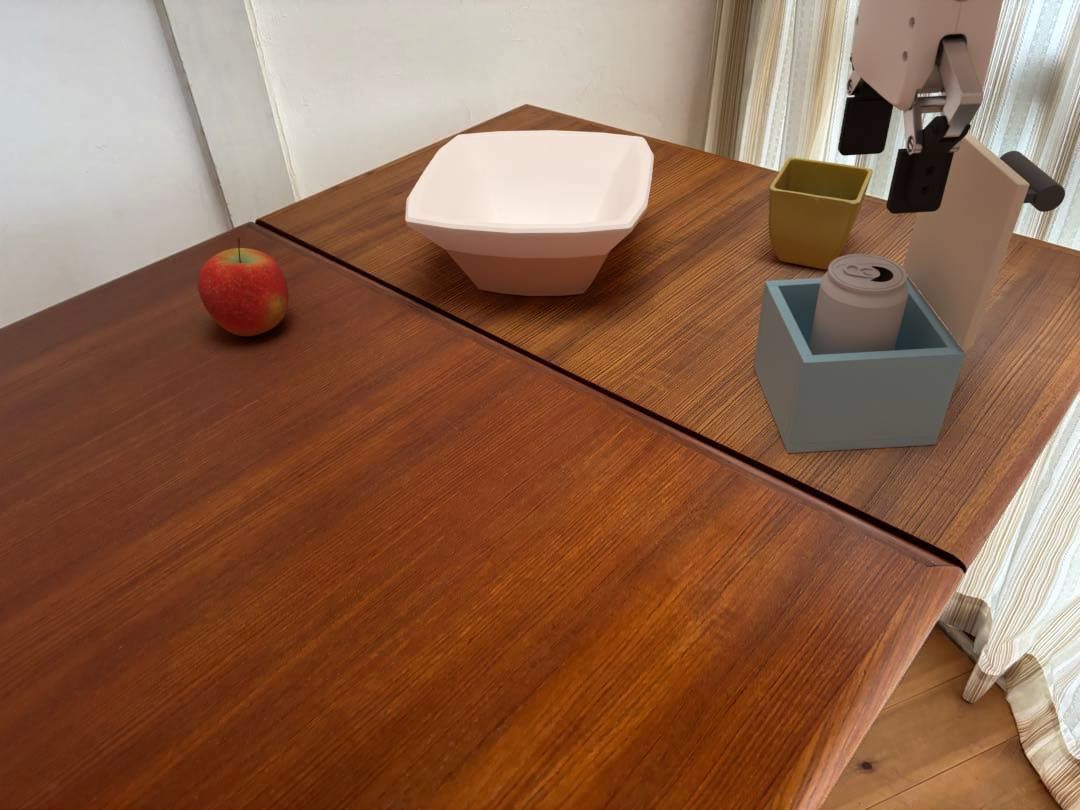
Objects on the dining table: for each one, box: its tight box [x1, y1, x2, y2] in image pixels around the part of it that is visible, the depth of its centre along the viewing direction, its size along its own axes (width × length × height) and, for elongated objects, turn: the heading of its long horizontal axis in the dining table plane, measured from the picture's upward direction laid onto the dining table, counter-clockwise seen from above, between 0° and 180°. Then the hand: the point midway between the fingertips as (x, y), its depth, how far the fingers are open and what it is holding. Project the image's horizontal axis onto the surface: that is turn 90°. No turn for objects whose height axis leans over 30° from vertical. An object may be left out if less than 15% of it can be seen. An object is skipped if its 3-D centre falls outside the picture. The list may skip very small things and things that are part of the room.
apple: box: [197, 236, 289, 337], centre depth 82 cm, size 8×8×10 cm
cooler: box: [752, 275, 966, 454], centre depth 69 cm, size 12×12×9 cm
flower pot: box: [768, 156, 874, 270], centre depth 89 cm, size 9×9×9 cm
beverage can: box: [809, 253, 909, 355], centre depth 67 cm, size 6×6×12 cm
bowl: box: [404, 129, 655, 297], centre depth 89 cm, size 24×25×11 cm
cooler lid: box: [902, 131, 1066, 349], centre depth 62 cm, size 13×12×5 cm
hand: (884, 180), depth 57 cm, fingers open, 9 cm apart
